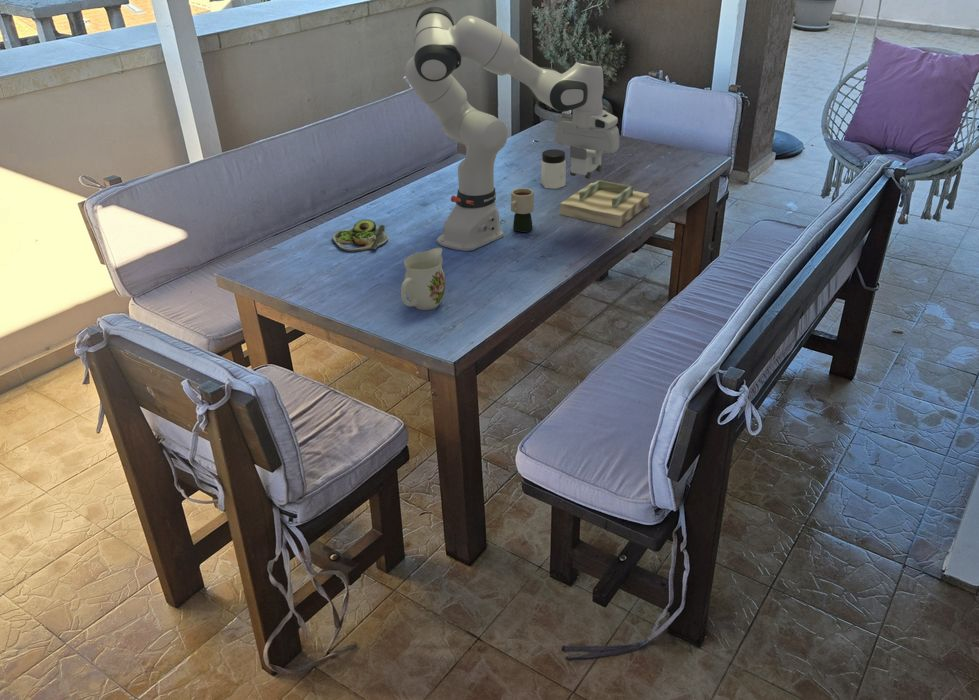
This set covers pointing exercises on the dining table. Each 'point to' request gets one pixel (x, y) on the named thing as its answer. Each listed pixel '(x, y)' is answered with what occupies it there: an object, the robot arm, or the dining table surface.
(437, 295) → the pitcher
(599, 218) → the dock
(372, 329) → the dining table surface
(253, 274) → the dining table surface
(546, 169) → the jar
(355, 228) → the avocado toast plate
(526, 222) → the character mug
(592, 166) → the grey boxy block
